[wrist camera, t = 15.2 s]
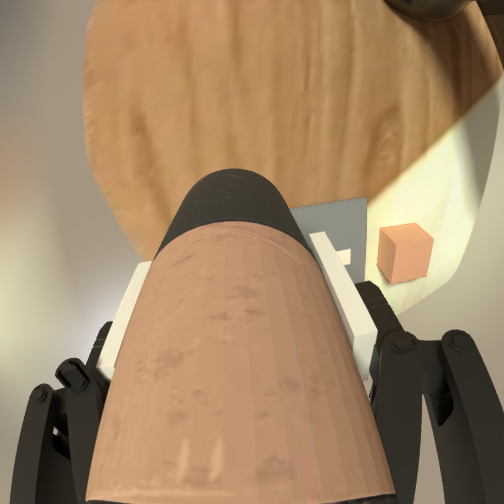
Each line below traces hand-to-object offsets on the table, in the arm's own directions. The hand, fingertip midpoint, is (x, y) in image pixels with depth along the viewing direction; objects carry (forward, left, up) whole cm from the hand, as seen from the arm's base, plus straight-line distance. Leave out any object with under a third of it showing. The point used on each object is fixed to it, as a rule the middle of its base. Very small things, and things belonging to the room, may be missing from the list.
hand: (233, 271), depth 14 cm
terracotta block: (-21, +14, -21) cm, 33 cm away
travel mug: (0, 0, -6) cm, 6 cm away
